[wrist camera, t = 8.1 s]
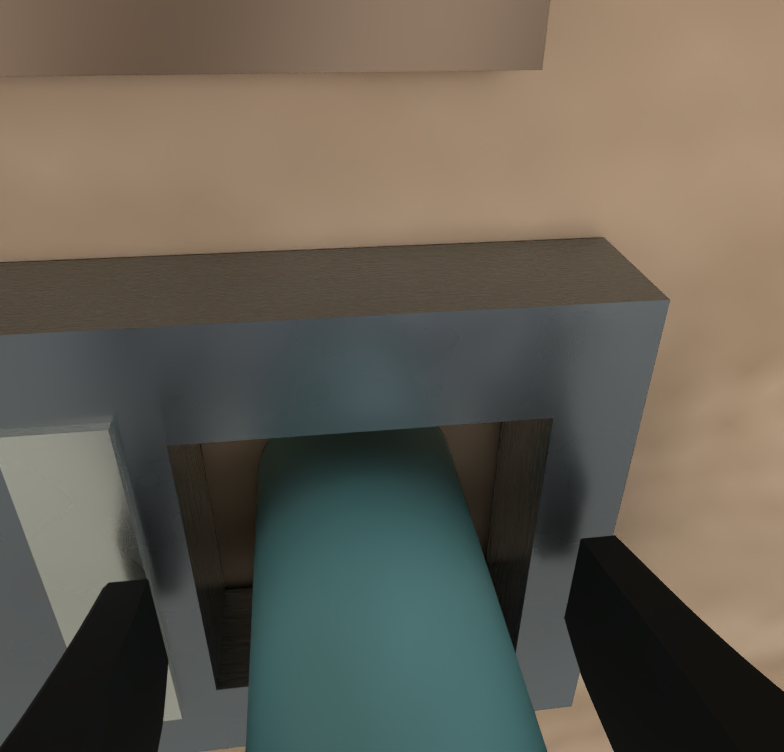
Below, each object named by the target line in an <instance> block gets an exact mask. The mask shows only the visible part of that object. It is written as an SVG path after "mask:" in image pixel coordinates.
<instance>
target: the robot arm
mask: <svg viewBox="0 0 784 752" xmlns="http://www.w3.org/2000/svg"><path fill="white" fill-rule="evenodd" d="M564 619H565V623H566V626H567V630H568V633H569V637H570V640H571V644H572V647H573V651H574V654H575V657H576V660H577V663H578V666H579V670H580V673H581V676H582V678H583V681H584V683H585V686H586V688H587V690H588V693H589V695H590V697H591V700H592V702H593V704H594V707H595V709H596V711H597V714H598V716H599V718H600V721H601V723H602V725H603V728H604V730H605V732H606V735H607V737H608V739H609V741H610V744H611V746H612V748H613V751H614V752H784V691H782V690H781V689H780V688H779V687H777V686H776V685H775V684H774V683H773V682H771V681H770V680H769V679H768V678H767V677H766V676H764V675H763V674H762V673H761V672H760V671H758V670H757V669H756V668H755V667H754V666H753V665H751V664H750V663H749V662H748V661H747V660H745V659H744V658H743V657H742V656H741V655H740V654H739V653H738V652H736V651H735V650H734V649H733V648H732V647H731V646H730V645H728V644H727V643H726V642H725V641H724V640H723V639H722V638H721V637H720V636H719V635H718V634H717V633H715V632H714V631H713V630H712V629H711V628H710V627H709V626H708V625H707V624H706V623H705V622H704V621H702V620H701V619H700V618H699V617H698V616H697V615H696V614H695V613H694V612H693V611H692V610H691V609H690V608H689V607H687V606H686V605H685V604H684V603H683V602H682V601H681V600H680V599H679V598H678V597H677V596H676V595H675V594H674V593H673V592H672V591H671V590H670V589H669V588H668V587H667V586H666V585H665V584H664V583H663V582H662V581H661V580H660V579H659V578H658V577H657V576H656V575H655V574H654V573H653V572H652V571H651V570H650V569H649V568H648V567H647V566H646V565H645V564H644V563H643V562H642V561H641V560H639V559H638V558H637V557H636V556H635V555H634V554H633V553H632V552H631V551H630V550H629V549H628V548H627V547H626V546H625V545H624V544H623V543H622V542H621V541H620V540H619V539H618V538H617V537H616V536H615V535H613V536H603V537H592V538H581V540H580V545H579V549H578V554H577V559H576V564H575V569H574V573H573V578H572V583H571V588H570V592H569V597H568V602H567V607H566V611H565V616H564ZM168 661H169V660H168V656H167V652H166V648H165V644H164V640H163V636H162V632H161V628H160V624H159V620H158V617H157V613H156V609H155V605H154V601H153V597H152V593H151V589H150V585H149V581H148V579H141V580H130V581H120V582H109V583H108V584H107V585H105V586H104V587H103V588H102V590H101V592H100V594H99V595H98V597H97V599H96V601H95V602H94V604H93V606H92V608H91V609H90V611H89V613H88V614H87V616H86V618H85V620H84V621H83V623H82V625H81V626H80V628H79V630H78V631H77V633H76V634H75V636H74V638H73V639H72V641H71V643H70V644H69V646H68V647H67V649H66V651H65V652H64V654H63V655H62V657H61V659H60V660H59V662H58V663H57V665H56V666H55V668H54V669H53V671H52V672H51V674H50V675H49V677H48V678H47V680H46V681H45V683H44V684H43V686H42V687H41V689H40V690H39V692H38V693H37V695H36V696H35V698H34V699H33V701H32V702H31V704H30V705H29V707H28V708H27V710H26V711H25V713H24V714H23V716H22V717H21V719H20V720H19V721H18V723H17V724H16V726H15V727H14V728H13V730H12V731H11V732H10V734H9V735H8V737H7V738H6V739H5V741H4V742H3V743H2V745H1V746H0V752H158V748H159V743H160V737H161V732H162V727H163V718H164V708H165V698H166V686H167V674H168Z"/></svg>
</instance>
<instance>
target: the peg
mask: <svg viewBox="0 0 784 752" xmlns="http://www.w3.org/2000/svg"><path fill="white" fill-rule="evenodd" d="M246 752H547V749H546V746H545V743H544V740H543V737H542V734H541V731H540V728H539V725H538V721H537V718H536V715H535V712H534V709H533V706H532V703H531V700H530V697H529V694H528V691H527V688H526V684H525V681H524V678H523V675H522V672H521V669H520V666H519V663H518V660H517V657H516V654H515V650H514V647H513V644H512V641H511V638H510V635H509V632H508V629H507V626H506V623H505V620H504V617H503V613H502V610H501V607H500V604H499V601H498V598H497V595H496V592H495V589H494V586H493V583H492V579H491V576H490V573H489V570H488V567H487V564H486V561H485V558H484V555H483V552H482V549H481V546H480V542H479V539H478V536H477V533H476V530H475V527H474V524H473V521H472V518H471V515H470V512H469V508H468V505H467V502H466V499H465V496H464V493H463V490H462V487H461V484H460V481H459V478H458V475H457V471H456V468H455V465H454V462H453V459H452V456H451V453H450V450H449V447H448V444H447V442H446V439H445V437H444V435H443V434H442V432H441V430H440V429H439V428H438V426H435V427H421V428H407V429H393V430H379V431H366V432H352V433H338V434H324V435H310V436H296V437H282V438H270V440H269V441H268V443H267V445H266V447H265V449H264V451H263V453H262V456H261V459H260V462H259V470H258V485H257V508H256V530H255V552H254V575H253V597H252V619H251V642H250V664H249V686H248V708H247V731H246Z"/></svg>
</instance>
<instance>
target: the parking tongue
mask: <svg viewBox="0 0 784 752" xmlns="http://www.w3.org/2000/svg"><path fill="white" fill-rule="evenodd" d="M549 6H550V0H0V77H12V76H92V75H172V74H252V73H332V72H412V71H492V70H542V67H543V58H544V50H545V41H546V32H547V23H548V14H549Z"/></svg>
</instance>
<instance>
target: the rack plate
mask: <svg viewBox="0 0 784 752" xmlns="http://www.w3.org/2000/svg"><path fill="white" fill-rule="evenodd" d="M669 302H670V299H669V298H668V297H667V296H666V295H664V294H663V293H662V292H661V291H660V290H659V289H658V288H657V287H656V286H655V285H654V284H653V283H652V282H651V281H650V280H649V279H647V278H646V277H645V276H644V275H643V274H642V273H641V272H640V271H639V270H638V269H637V268H636V267H635V266H634V265H633V264H632V263H631V262H629V261H628V260H627V259H626V258H625V257H624V256H623V255H622V254H621V253H620V252H619V251H618V250H617V249H616V248H615V247H614V246H613V245H611V244H610V243H609V242H608V241H607V240H606V239H605V238H590V239H566V240H542V241H518V242H494V243H470V244H446V245H422V246H398V247H374V248H350V249H326V250H302V251H278V252H254V253H229V254H205V255H181V256H157V257H133V258H109V259H85V260H61V261H37V262H13V263H0V746H1V745H2V743H3V742H4V741H5V739H6V738H7V737H8V735H9V734H10V732H11V731H12V730H13V728H14V727H15V726H16V724H17V723H18V721H19V720H20V719H21V717H22V716H23V714H24V713H25V711H26V710H27V708H28V707H29V705H30V704H31V702H32V701H33V699H34V698H35V696H36V695H37V693H38V692H39V690H40V689H41V687H42V686H43V684H44V683H45V681H46V680H47V678H48V677H49V675H50V674H51V672H52V671H53V669H54V668H55V666H56V665H57V663H58V662H59V660H60V659H61V657H62V655H63V654H64V652H65V651H66V649H67V647H68V646H69V644H70V643H71V641H72V639H73V638H74V636H75V634H76V633H77V631H78V630H79V628H80V626H81V625H82V623H83V621H84V620H85V618H86V616H87V614H88V613H89V611H90V609H91V608H92V606H93V604H94V602H95V601H96V599H97V597H98V595H99V594H100V592H101V590H102V588H103V587H104V586H105V585H107V584H108V583H109V582H120V581H130V580H141V579H148V581H149V585H150V589H151V593H152V597H153V601H154V605H155V609H156V613H157V617H158V620H159V624H160V628H161V632H162V636H163V640H164V644H165V648H166V652H167V656H168V660H169V661H168V674H167V686H166V698H165V708H164V718H163V727H162V732H161V737H160V743H159V748H158V752H200V751H208V750H216V749H225V748H233V747H241V746H246V731H247V708H248V686H249V664H250V642H251V619H252V597H253V587H248V588H237V589H227V590H225V586H224V580H223V574H222V569H221V563H220V557H219V551H218V545H217V539H216V534H215V528H214V522H213V516H212V510H211V505H210V499H209V493H208V487H207V481H206V475H205V470H204V464H203V458H202V452H201V446H200V443H213V442H227V441H241V440H255V439H268V438H282V437H296V436H310V435H324V434H338V433H352V432H366V431H379V430H393V429H407V428H421V427H435V426H449V425H463V424H477V423H490V422H502V423H501V432H500V441H499V450H498V459H497V468H496V476H495V485H494V494H493V503H492V512H491V521H490V529H489V538H488V547H487V556H486V564H487V567H488V570H489V573H490V576H491V579H492V583H493V586H494V589H495V592H496V595H497V598H498V601H499V604H500V607H501V610H502V613H503V617H504V620H505V623H506V626H507V629H508V632H509V635H510V638H511V641H512V644H513V647H514V650H515V654H516V657H517V660H518V663H519V666H520V669H521V672H522V675H523V678H524V681H525V684H526V688H527V691H528V694H529V697H530V700H531V703H532V706H533V709H534V711H537V710H545V709H553V708H561V707H569V706H572V702H573V698H574V694H575V690H576V686H577V681H578V677H579V673H580V670H579V666H578V663H577V660H576V657H575V654H574V651H573V647H572V644H571V640H570V637H569V633H568V630H567V626H566V623H565V619H564V616H565V611H566V607H567V602H568V597H569V592H570V588H571V583H572V578H573V573H574V569H575V564H576V559H577V554H578V549H579V545H580V540H581V538H592V537H603V536H613V533H614V529H615V525H616V521H617V516H618V512H619V508H620V504H621V500H622V496H623V492H624V488H625V483H626V479H627V475H628V471H629V467H630V463H631V459H632V455H633V451H634V446H635V442H636V438H637V434H638V430H639V426H640V422H641V418H642V413H643V409H644V405H645V401H646V397H647V393H648V389H649V385H650V380H651V376H652V372H653V368H654V364H655V360H656V356H657V352H658V347H659V343H660V339H661V335H662V331H663V327H664V323H665V319H666V314H667V310H668V306H669Z"/></svg>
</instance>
